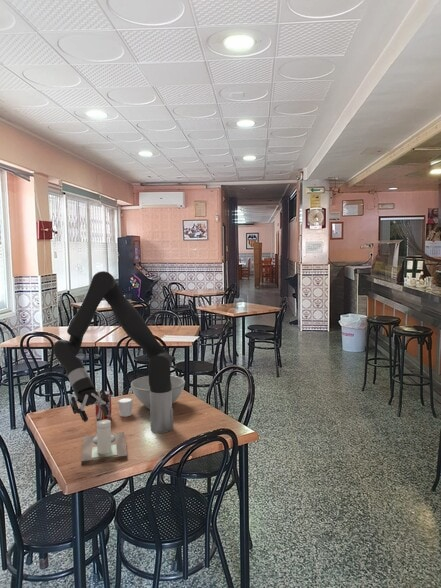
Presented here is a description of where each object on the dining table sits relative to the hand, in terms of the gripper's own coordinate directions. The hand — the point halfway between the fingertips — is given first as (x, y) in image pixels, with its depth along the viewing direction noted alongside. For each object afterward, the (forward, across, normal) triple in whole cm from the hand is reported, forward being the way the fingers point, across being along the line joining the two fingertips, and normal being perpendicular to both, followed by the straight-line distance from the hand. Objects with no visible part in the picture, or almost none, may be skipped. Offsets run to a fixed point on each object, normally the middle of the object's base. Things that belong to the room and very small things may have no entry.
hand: (97, 417), depth 162 cm
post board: (+9, +3, +10) cm, 14 cm away
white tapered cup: (-8, +29, +28) cm, 41 cm away
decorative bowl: (-7, +47, +27) cm, 55 cm away
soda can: (-11, +20, +30) cm, 37 cm away
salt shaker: (+11, 0, +5) cm, 12 cm away
